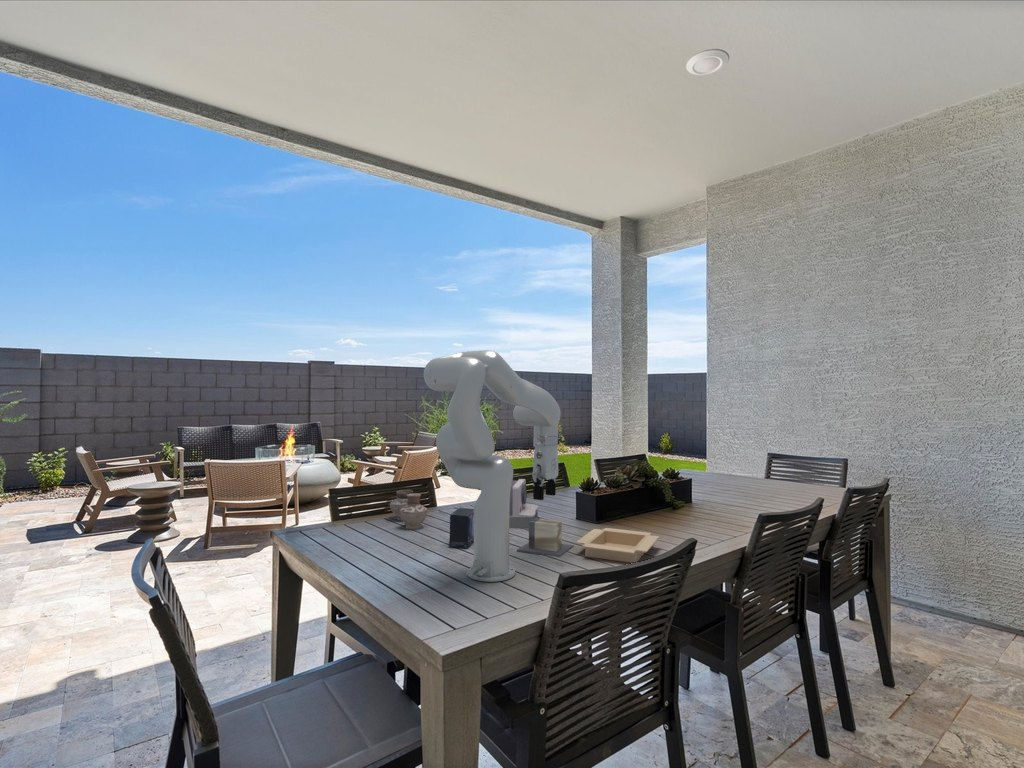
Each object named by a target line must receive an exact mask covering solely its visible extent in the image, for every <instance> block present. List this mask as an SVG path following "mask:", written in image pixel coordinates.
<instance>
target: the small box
mask: <svg viewBox="0 0 1024 768" xmlns="http://www.w3.org/2000/svg"><path fill="white" fill-rule="evenodd" d="M448 539H449V544H448V548H456V549H468V548H470V547H471V546H472V545H474V508H468V507H466V508H464V507H459V508H457V509H456V510H454V511H453V512H451V513H450V514H449V538H448Z"/></svg>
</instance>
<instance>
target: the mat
mask: <svg viewBox="0 0 1024 768" xmlns="http://www.w3.org/2000/svg"><path fill="white" fill-rule="evenodd" d="M574 547H575V546H574V545H572V544H565V543H562V548H560V549H559V550H557V551H549V550H541V549H534V548H529V542H527V543H525V544H524V545H522V546H520V547H519V548H517V549H516V552H518V553H525V554H531V555H538V556H541V555H545V556H551V557H552V556H553V557H558V558H560V557H562V556H563V555H564V554H566V553H568V551H569V550H571V549H572V548H574Z"/></svg>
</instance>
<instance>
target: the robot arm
mask: <svg viewBox="0 0 1024 768" xmlns="http://www.w3.org/2000/svg"><path fill="white" fill-rule="evenodd" d="M423 381H424V382H425V384H426V385H427V387H428V388H429V389H431V390H433V391H436V392H453V395H452V397H451V399H450V401H449V404H448V407H447V411H446V417H447V421H448V423H446V424H444V425H442V426H441V427H440V428H439V430H438V432H437V434H436V439H435V443H436V445H435V446H436V450H437V453H438V455H439V458H440V459H441V461H442V464H443V465H444V466H445V469H446V471H447V472H448V475H449V476H450V478H451V479H452V481H453V483H454V484H455V485H457V486H458V487H460V488H464V489H470V490H471V489H472V490H477V491H480V494H479V496H478V497H477V499H476V500H475V503H474V507H473V509H474V543H473V561H472V562H473V563H472V566H470V567H469V568H468V569H467V570H466V576H468V577H469V578H470V579H472V580H474V581H479V582H486V583H490V582H491V583H492V582H493V583H494V582H495V583H496V582H502V581H508V580H510V579H512V578H514V577H515V574H516V569H515V568H514V566H511V565H510V528H509V503H510V491H511V485H512V480H514V467H513V464H512V463H511V461H510V460H509V459H508V458H505V456H501V455H495V454H494V452H495V447H496V446H495V445H496V444H495V440H494V437H493V434H492V432H491V430H490V428H489V426H488V424H487V421H486V419H485V417H484V415H483V412H482V409H481V407H480V406H481V403H480V402H481V400H480V399H481V396H482V391H483V388H484V386H485V387H487V389H488V390H489V391H491V393H492V394H493V395H494V396H495V397H496V398H497V399H499V400H500V401H501V402H503V403H506V404H509V405H512V406H514V409H513V411H512V414H513V419H514V421H515V422H516V423H517V424H519V425H521V426H526V427H527V426H528V427H532V426H533V445H532V446H533V447H534V451H533V464H532V465H533V467H532V473H531V475H532V479H531V480H532V486H533V490H532V491H533V493H532V497H533V498H532V499H533V500H537V501H543V500H544V498H545V496H544V495H546V496H556V495H557V494H556V489H557V478H558V476H559V453H558V446H559V445H558V438H559V435H558V434H559V433H558V432H559V430H558V429H559V422H560V420H561V408H560V406H559V402H557V401H556V398H554V397H553V395H552V394H551V393H550V392H548V391H547V390H546V389H544V388H542V387H540V386H538V385H536V384H534V383H533V382H530V381H529V380H526V379H523V378H521V377H520V376H519V374H518V373H517V372H515V370H514V369H513V368H512V367H511V366H510V364H509V363H508V362H507V361H506V360H505V359H504V358H503V357H502V356H501V355H500V354H499V353H498V352H497V351H495V350H489V349H488V350H487V349H486V350H485V349H484V350H470V351H469V350H468V351H463V352H462V351H461V352H458V353H454V354H450V355H445V356H444V355H443V356H440V357H435V358H432V359H431V360H429V362H427V364H426V365H425V367H424V370H423ZM545 480H546V482H545ZM544 482H545V487H544ZM544 489H545V490H544ZM544 491H545V492H544ZM544 493H545V494H544Z"/></svg>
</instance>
